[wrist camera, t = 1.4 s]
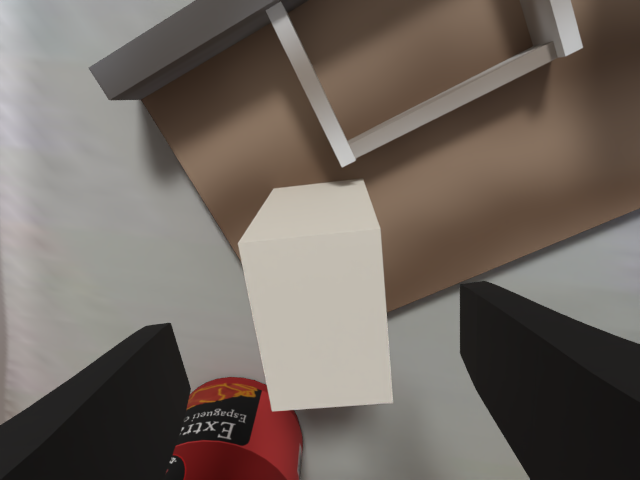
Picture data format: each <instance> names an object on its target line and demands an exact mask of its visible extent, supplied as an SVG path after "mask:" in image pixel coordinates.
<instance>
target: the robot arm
mask: <svg viewBox="0 0 640 480" xmlns="http://www.w3.org/2000/svg"><path fill="white" fill-rule="evenodd" d="M460 354H461V357H462V359H463V361H464V364H465V366H466V368H467V371H468V373H469V375H470V377H471V380H472V382H473V384H474V386H475V388H476V390H477V392H478V394H479V395H480V397H481V399H482V401H483V402H484V404H485V406H486V407H487V409H488V411H489V412H490V414H491V416H492V417H493V419H494V421H495V422H496V424H497V425H498V427H499V429H500V430H501V432H502V434H503V435H504V437H505V439H506V440H507V442H508V443H509V445H510V447H511V448H512V450H513V452H514V453H515V455H516V457H517V458H518V460H519V462H520V463H521V465H522V466H523V468H524V470H525V471H526V473H527V475H528V476H529V478H530V480H640V344H637V343H635V342H632V341H629V340H626V339H623V338H621V337H618V336H615V335H613V334H610V333H607V332H605V331H602V330H600V329H597V328H595V327H592V326H589V325H587V324H584V323H582V322H579V321H577V320H575V319H572V318H570V317H567V316H565V315H563V314H560V313H558V312H556V311H554V310H551V309H549V308H547V307H544V306H542V305H540V304H538V303H536V302H533V301H531V300H529V299H527V298H524V297H522V296H520V295H518V294H516V293H513V292H511V291H509V290H507V289H504V288H502V287H500V286H497V285H495V284H492V283H489V282H486V281H482V282H474V283H466V284H460ZM190 390H191V388H190V384H189V381H188V378H187V375H186V371H185V368H184V365H183V362H182V358H181V355H180V352H179V349H178V345H177V342H176V339H175V336H174V332H173V329H172V326H171V323H164V324H157V325H149V326H145V327H143V328H142V329H140V330H138V331H137V332H135V333H134V334H132V335H131V336H129V337H128V338H126V339H125V340H123V341H122V342H121V343H119V344H118V345H116V346H115V347H114V348H112V349H111V350H109V351H108V352H107V353H105V354H104V355H103V356H101V357H100V358H98V359H97V360H96V361H94V362H93V363H91V364H90V365H89V366H87V367H86V368H85V369H83V370H82V371H80V372H79V373H78V374H76V375H75V376H73V377H72V378H71V379H69V380H68V381H66V382H65V383H63V384H62V385H60V386H59V387H57V388H56V389H55V390H53V391H52V392H50V393H49V394H47V395H46V396H44V397H43V398H41V399H40V400H38V401H37V402H35V403H34V404H33V405H31V406H30V407H28V408H27V409H25V410H24V411H22V412H21V413H19V414H17V415H16V416H14V417H13V418H11V419H10V420H8V421H6V422H5V423H3V424H2V425H0V480H163V479H164V477H165V474H166V471H167V469H168V466H169V463H170V460H171V458H172V455H173V452H174V449H175V447H176V444H177V441H178V438H179V435H180V433H181V430H182V426H183V422H184V418H185V414H186V410H187V405H188V400H189V395H190Z"/></svg>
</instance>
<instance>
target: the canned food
mask: <svg viewBox="0 0 640 480" xmlns="http://www.w3.org/2000/svg"><path fill="white" fill-rule="evenodd" d="M302 449H303V441H302V433H301V429H300V426H299V422H298V418H297V415H296V414H295V412H294V410H285V411H272V409H271V404H270V399H269V394H268V389H267V385H265V384H263V383H260V382H257V381H255V380H251V379H246V378H237V377H227V378H220V379H215V380H212V381H209V382H207V383H205V384H203V385H201V386H200V387H198V388H197V389H196V390H194V391H193V392H192V393H191V394H190V395H189V400H188V405H187V410H186V414H185V418H184V422H183V426H182V430H181V433H180V435H179V438H178V441H177V444H176V447H175V449H174V452H173V455H172V458H171V460H170V463H169V466H168V469H167V471H166V474H165V477H164V479H163V480H300V472H301V461H302Z"/></svg>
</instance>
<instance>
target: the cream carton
mask: <svg viewBox="0 0 640 480" xmlns="http://www.w3.org/2000/svg"><path fill="white" fill-rule="evenodd" d="M238 247H239V252H240V257H241V261H242V266H243V271H244V276H245V281H246V286H247V291H248V296H249V301H250V306H251V311H252V315H253V320H254V325H255V330H256V335H257V340H258V345H259V350H260V355H261V360H262V364H263V369H264V374H265V379H266V384H267V389H268V394H269V399H270V404H271V409H272V411H285V410H299V409H313V408H328V407H342V406H356V405H370V404H384V403H393V395H392V381H391V367H390V353H389V339H388V326H387V312H386V298H385V284H384V270H383V257H382V243H381V229H380V226H379V223H378V220H377V217H376V214H375V212H374V209H373V206H372V203H371V200H370V197H369V194H368V191H367V189H366V186H365V183H364V180H363V179H354V180H345V181H336V182H327V183H318V184H309V185H300V186H292V187H283V188H274V189H273V190H272V192H271V193H270V195H269V196H268V198H267V199H266V201H265V202H264V204H263V205H262V207H261V209H260V210H259V212H258V213H257V215H256V216H255V218H254V219H253V221H252V222H251V224H250V225H249V227H248V228H247V230H246V232H245V233H244V235H243V236H242V238H241V239H240V241H239V242H238Z"/></svg>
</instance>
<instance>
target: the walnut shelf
mask: <svg viewBox="0 0 640 480" xmlns="http://www.w3.org/2000/svg"><path fill="white" fill-rule="evenodd" d="M89 70H90V71H91V73H92V74H93V76H94V77H95V79H96V80H97V82H98V84H99V85H100V87H101V88H102V90H103V91H104V93H105V94H106V96H107V98H108V99H109V100H142V102H143V104H144V105H145V107H146V108H147V110H148V112H149V113H150V115H151V117H152V118H153V120H154V121H155V123H156V125H157V126H158V128H159V130H160V131H161V133H162V134H163V136H164V138H165V139H166V141H167V142H168V144H169V146H170V147H171V149H172V151H173V152H174V154H175V155H176V157H177V159H178V160H179V162H180V164H181V165H182V167H183V168H184V170H185V172H186V173H187V175H188V177H189V178H190V180H191V181H192V183H193V185H194V186H195V188H196V189H197V191H198V193H199V194H200V196H201V198H202V199H203V201H204V202H205V204H206V206H207V207H208V209H209V211H210V212H211V214H212V215H213V217H214V219H215V220H216V222H217V224H218V225H219V227H220V228H221V230H222V232H223V233H224V235H225V236H226V238H227V240H228V241H229V243H230V245H231V246H232V248H233V249H234V251H235V253H236V254H237V256H238V258H239V259H240V261H241V257H240V252H239V247H238V242H239V241H240V239H241V238H242V236H243V235H244V233H245V232H246V230H247V228H248V227H249V225H250V224H251V222H252V221H253V219H254V218H255V216H256V215H257V213H258V212H259V210H260V209H261V207H262V205H263V204H264V202H265V201H266V199H267V198H268V196H269V195H270V193H271V192H272V190H273V189H274V188H283V187H292V186H300V185H309V184H318V183H327V182H336V181H345V180H354V179H363V180H364V183H365V186H366V189H367V191H368V194H369V197H370V200H371V203H372V206H373V209H374V212H375V214H376V217H377V220H378V223H379V226H380V229H381V243H382V257H383V270H384V284H385V298H386V312H390V311H392V310H395V309H397V308H399V307H402V306H404V305H407V304H409V303H411V302H414V301H416V300H419V299H421V298H424V297H426V296H428V295H431V294H433V293H436V292H438V291H440V290H443V289H445V288H448V287H450V286H453V285H455V284H457V283H460V282H462V281H465V280H467V279H470V278H472V277H474V276H477V275H479V274H482V273H484V272H486V271H489V270H491V269H494V268H496V267H499V266H501V265H503V264H506V263H508V262H511V261H513V260H516V259H518V258H520V257H523V256H525V255H528V254H530V253H532V252H535V251H537V250H540V249H542V248H545V247H547V246H549V245H552V244H554V243H557V242H559V241H562V240H564V239H566V238H569V237H571V236H574V235H576V234H578V233H581V232H583V231H586V230H588V229H591V228H593V227H595V226H598V225H600V224H603V223H605V222H608V221H610V220H612V219H615V218H617V217H620V216H622V215H624V214H627V213H629V212H632V211H634V210H637V209H639V208H640V0H196V1H194V2H192V3H191V4H189V5H188V6H186V7H184V8H183V9H181V10H180V11H178V12H176V13H175V14H173V15H172V16H170V17H169V18H167V19H165V20H164V21H162V22H161V23H159V24H157V25H156V26H154V27H153V28H151V29H150V30H148V31H146V32H145V33H143V34H142V35H140V36H138V37H137V38H135V39H134V40H132V41H130V42H129V43H127V44H126V45H124V46H123V47H121V48H119V49H118V50H116V51H115V52H113V53H111V54H110V55H108V56H107V57H105V58H103V59H102V60H100V61H99V62H97V63H96V64H94V65H92V66H91V67H89ZM241 262H242V261H241Z"/></svg>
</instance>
